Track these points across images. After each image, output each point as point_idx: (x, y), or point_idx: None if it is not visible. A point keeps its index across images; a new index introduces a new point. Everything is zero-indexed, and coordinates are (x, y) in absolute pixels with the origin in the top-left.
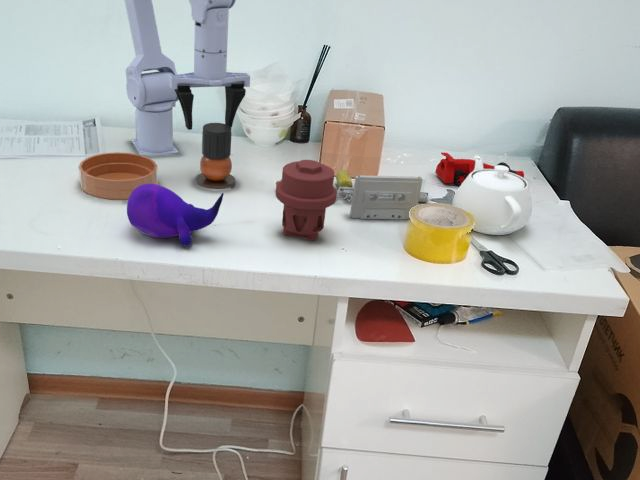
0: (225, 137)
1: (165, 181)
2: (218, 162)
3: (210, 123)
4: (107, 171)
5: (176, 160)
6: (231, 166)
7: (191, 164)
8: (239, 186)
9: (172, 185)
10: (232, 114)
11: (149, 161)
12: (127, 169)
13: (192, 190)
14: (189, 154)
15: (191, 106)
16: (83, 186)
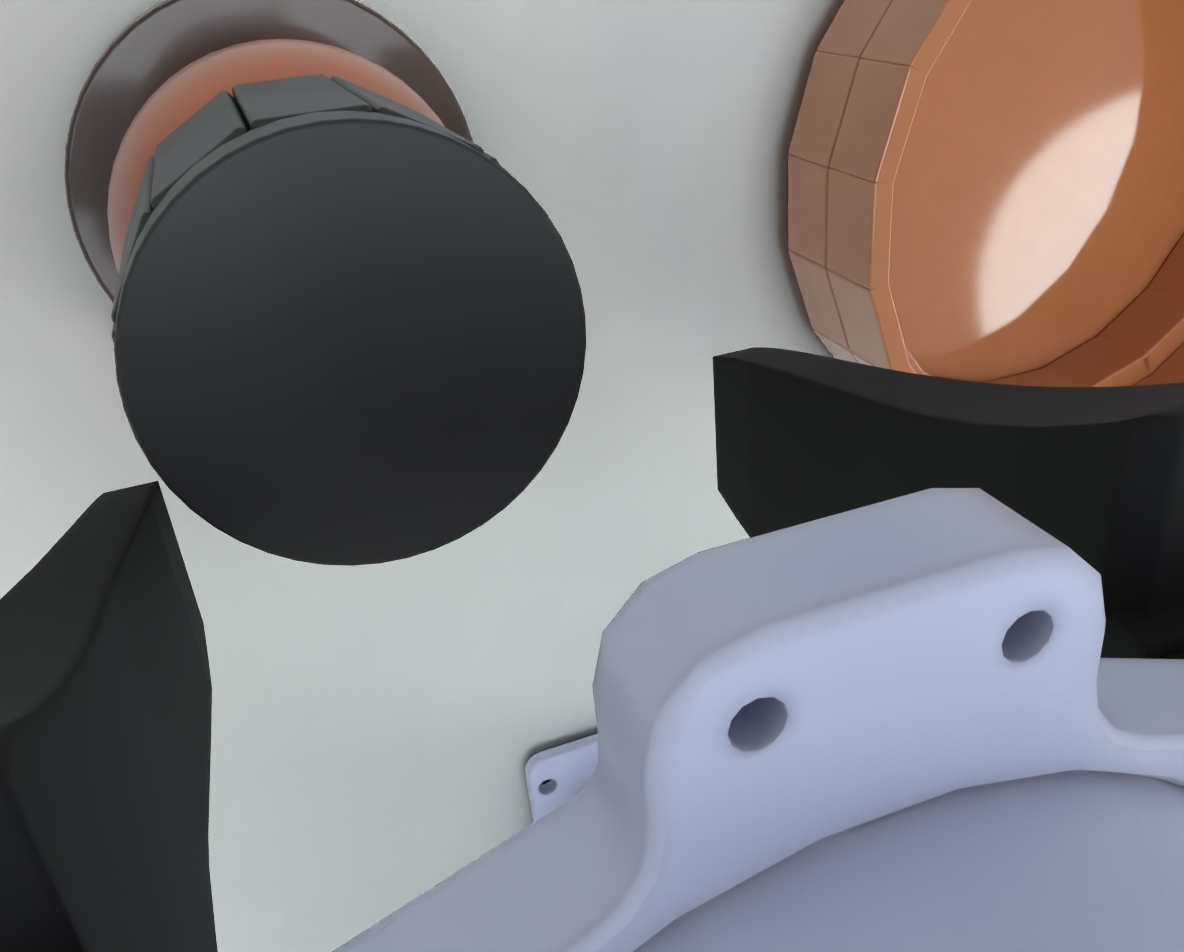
0: (231, 132)
1: (700, 251)
2: (297, 75)
3: (451, 523)
4: (1056, 366)
5: (551, 658)
6: (112, 169)
7: (449, 599)
8: (19, 102)
9: (663, 163)
10: (83, 564)
11: (893, 316)
12: None
13: (515, 33)
14: (440, 777)
15: (952, 416)
16: None
